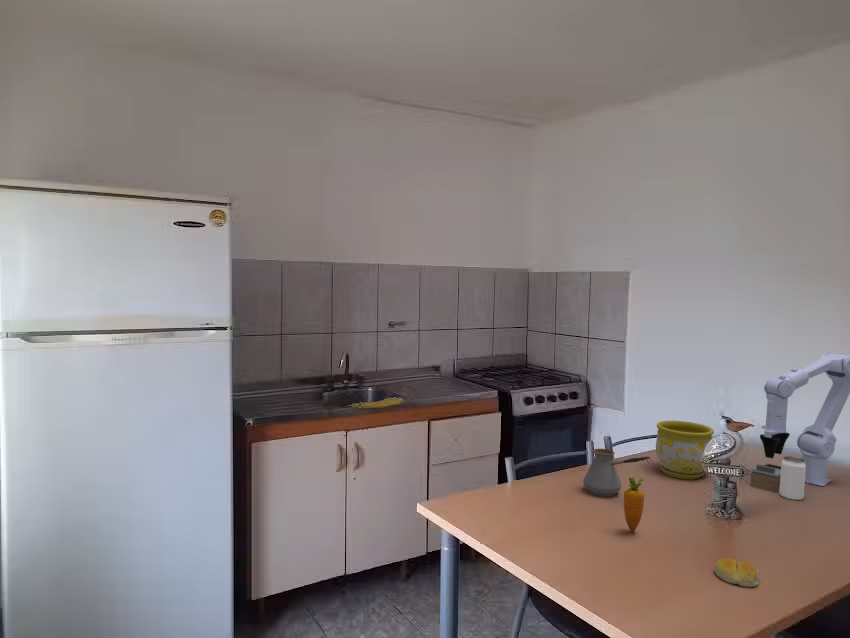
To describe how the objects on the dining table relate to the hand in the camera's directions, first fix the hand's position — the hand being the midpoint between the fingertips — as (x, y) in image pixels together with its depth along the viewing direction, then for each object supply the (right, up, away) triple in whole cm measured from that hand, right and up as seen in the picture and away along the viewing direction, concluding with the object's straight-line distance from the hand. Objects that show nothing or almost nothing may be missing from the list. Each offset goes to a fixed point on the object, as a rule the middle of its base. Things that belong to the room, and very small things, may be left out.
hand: (773, 455), depth 197 cm
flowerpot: (-26, -8, +9) cm, 29 cm away
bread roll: (-45, -13, -63) cm, 79 cm away
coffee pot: (-57, -9, -15) cm, 60 cm away
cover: (-3, -5, -3) cm, 6 cm away
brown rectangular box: (-1, -9, 0) cm, 10 cm away
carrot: (-61, -11, -41) cm, 74 cm away
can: (-1, -11, -11) cm, 15 cm away
